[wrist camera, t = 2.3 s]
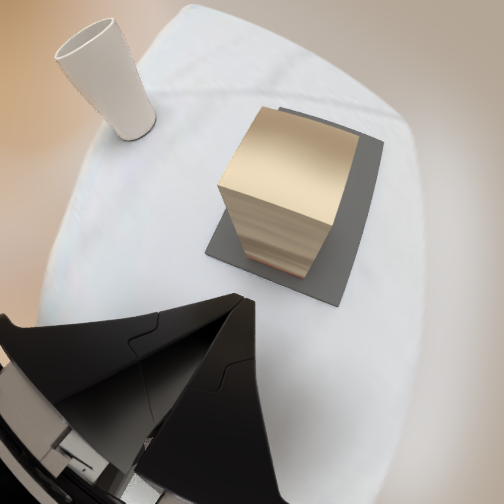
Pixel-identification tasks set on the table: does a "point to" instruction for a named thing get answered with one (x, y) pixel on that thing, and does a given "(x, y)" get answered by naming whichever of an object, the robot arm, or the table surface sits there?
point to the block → (286, 188)
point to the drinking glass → (108, 77)
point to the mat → (338, 239)
